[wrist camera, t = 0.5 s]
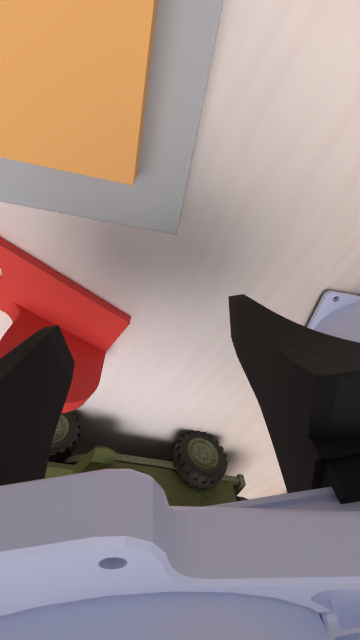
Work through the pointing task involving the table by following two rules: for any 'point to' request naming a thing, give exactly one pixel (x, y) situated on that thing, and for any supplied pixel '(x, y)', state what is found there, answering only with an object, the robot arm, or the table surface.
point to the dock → (157, 138)
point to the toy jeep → (154, 466)
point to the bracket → (57, 317)
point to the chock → (75, 84)
